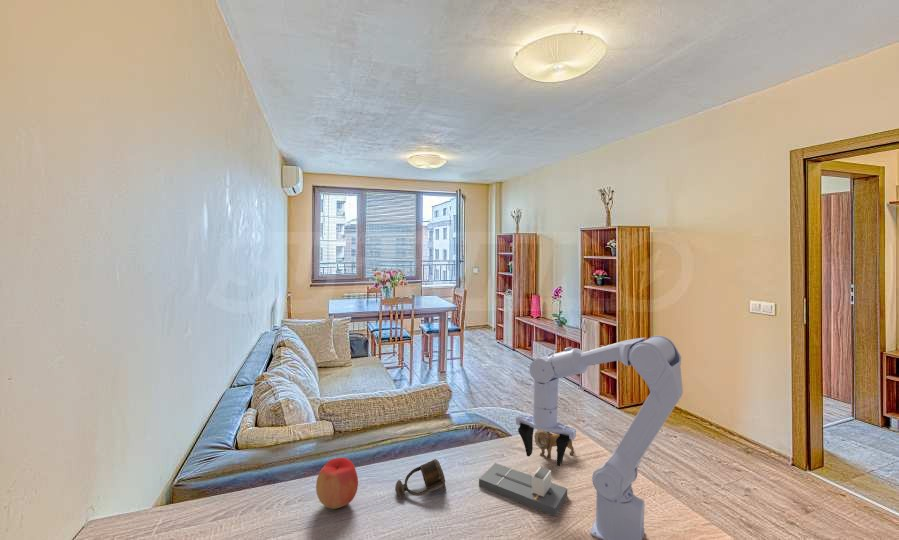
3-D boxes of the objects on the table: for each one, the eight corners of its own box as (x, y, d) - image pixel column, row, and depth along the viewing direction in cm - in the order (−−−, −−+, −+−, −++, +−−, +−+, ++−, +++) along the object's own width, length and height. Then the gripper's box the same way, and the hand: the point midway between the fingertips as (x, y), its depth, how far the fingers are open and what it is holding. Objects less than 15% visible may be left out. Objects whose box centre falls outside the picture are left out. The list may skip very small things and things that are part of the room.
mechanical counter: (447, 483, 91) (449, 453, 101) (394, 477, 92) (401, 447, 101) (444, 507, 93) (447, 475, 103) (392, 501, 93) (399, 469, 103)
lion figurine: (541, 466, 109) (542, 435, 108) (529, 457, 113) (530, 427, 113) (579, 453, 116) (580, 424, 115) (566, 445, 120) (566, 417, 120)
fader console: (567, 496, 95) (567, 488, 95) (555, 516, 88) (555, 507, 88) (495, 469, 106) (495, 462, 106) (478, 486, 99) (479, 478, 99)
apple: (320, 494, 95) (319, 454, 95) (359, 490, 97) (359, 451, 96) (313, 520, 86) (312, 477, 85) (356, 516, 87) (356, 473, 87)
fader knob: (550, 486, 95) (551, 470, 95) (543, 496, 91) (544, 479, 91) (539, 482, 97) (539, 466, 97) (531, 492, 93) (532, 475, 93)
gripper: (580, 406, 93) (578, 460, 94) (523, 393, 101) (522, 444, 102) (571, 416, 88) (570, 474, 88) (512, 402, 95) (511, 455, 96)
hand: (544, 459), depth 95 cm, fingers open, 7 cm apart
